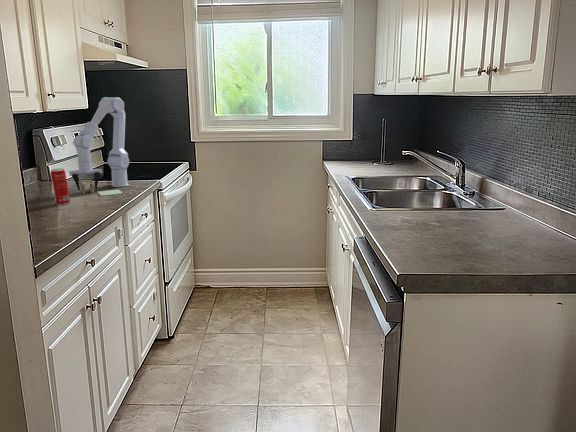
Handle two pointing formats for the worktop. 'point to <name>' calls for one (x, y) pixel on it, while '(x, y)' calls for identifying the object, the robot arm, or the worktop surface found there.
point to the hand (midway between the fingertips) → (87, 189)
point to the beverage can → (60, 186)
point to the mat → (109, 192)
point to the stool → (87, 183)
